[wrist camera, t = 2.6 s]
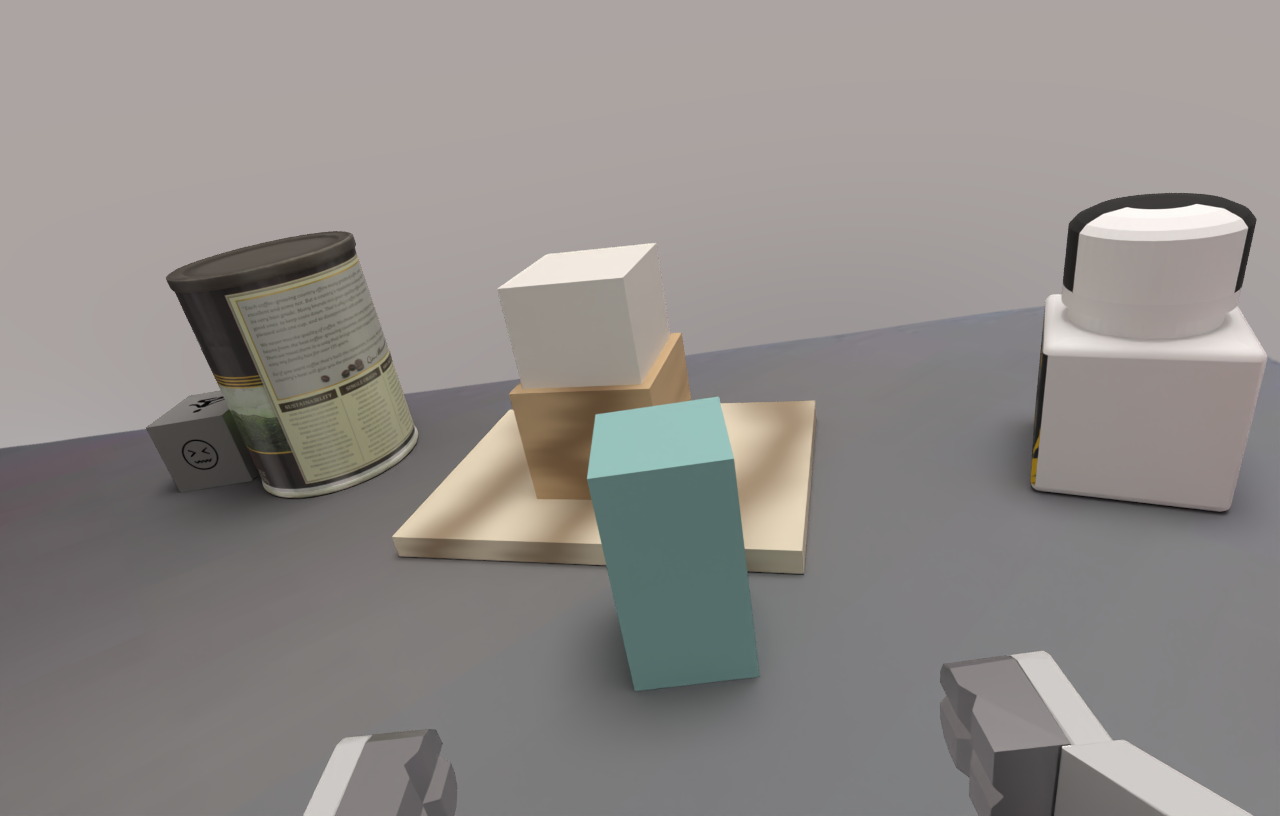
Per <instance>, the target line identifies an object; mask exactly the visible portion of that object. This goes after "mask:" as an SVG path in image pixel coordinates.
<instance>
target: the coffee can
mask: <svg viewBox="0 0 1280 816" xmlns="http://www.w3.org/2000/svg"><path fill="white" fill-rule="evenodd" d="M355 245H356V243H355V240H354V237H353V234H351V233H348V232H341V231H340V232H338V231H333V232H322V233H315V234H307V235H300V236H296V237H289V238H284V239H279V240H275V241H270V242H265V243H260V244H257V245H253V246H248V247H244V248H240V249H236V250H232V251H229V252H226V253H222V254H219V255H215V256H212V257H209V258H205V259H202V260H199V261H196V262H194V263H190V264H188V265H186V266H183V267H181V268H178V269H176V270H175V271H173V272H172V273H170V274H169V275H168V276H167V277H166V280H167V282H168V284H169V286H170V288H171V289H172V290H173V291H174V292H175V293H176V295H177V297H178V300H179V302H180V304H181V306H182V308H183V311H184V313H185V315H186V317H187V319H188V321H189V323H190V325H191V327H192V330H193V332H194V334H195V336H196V339H197V341H198V343H199V345H200V347H201V350H202V352H203V354H204V355H205V358H206V360H207V362H208V364H209V366H210V368H211V371H212V373H213V375H214V377H215V379H216V381H217V383H218V386H219V387H220V390H221V392H222V394H223V396H224V399H225V401H226V403H227V405H228V407H229V409H230V411H231V414H232V416H233V418H234V420H235V422H236V425H237V427H238V429H239V431H240V434H241V436H242V438H243V440H244V442H245V444H246V446H247V448H248V450H249V453H250V455H251V457H252V459H253V461H254V463H255V466H256V468H257V470H258V472H259V474H260V476H261V479H262V484H263V487H264V488H265V490H266V491H267V492H269V493H270V494H273V495H275V496H279V497H283V498H306V497H314V496H320V495H324V494H329V493H333V492H337V491H340V490H343V489H346V488H349V487H352V486H354V485H357V484H359V483H362V482H364V481H367V480H369V479H371V478H373V477H375V476H377V475H379V474H381V473H383V472H384V471H386V470H387V469H389V468H391V467H393V466H394V465H396V464H397V463H398V462H400V461H401V460H402V459H403V458H404V457H405V456H406V455H407V454H408V453H409V452H410V451H411V450H412V449H413V447H414V446H415V444H416V443H417V438H418V431H417V429H416V427H415V426H414V423H413V420H412V418H411V415H410V411H409V408H408V406H407V403H406V400H405V397H404V394H403V391H402V388H401V385H400V382H399V379H398V376H397V373H396V370H395V367H394V364H393V361H392V358H391V354H390V351H389V349H388V346H387V343H386V340H385V337H384V334H383V331H382V328H381V325H380V322H379V319H378V316H377V313H376V310H375V307H374V304H373V301H372V298H371V295H370V292H369V289H368V286H367V283H366V280H365V277H364V274H363V271H362V269H361V265H360V262H359V259H358V256H357V254H356V251H355Z"/></svg>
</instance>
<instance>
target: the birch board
mask: <svg viewBox="0 0 1280 816" xmlns="http://www.w3.org/2000/svg"><path fill="white" fill-rule="evenodd" d="M721 408H722V412H723V416H724V420H725V424H726V428H727V432H728V436H729V440H730V444H731V448H732V452H733V456H734V462H735V471H736V479H737V488H738V496H739V505H740V513H741V522H742V530H743V539H744V547H745V556H746V564H747V571H750V572H773V573H796V574H804V565H805V553H806V541H807V528H808V516H809V503H810V491H811V479H812V466H813V454H814V441H815V429H816V405H815V401H790V402H756V403H723V404H721ZM392 539H393V541H394V544H395V546H396V549H397V552H398V554H399V556H405V557H428V558H451V559H474V560H497V561H520V562H543V563H566V564H589V565H606V561H605V557H604V553H603V548H602V544H601V539H600V535H599V530H598V526H597V522H596V517H595V513H594V508H593V504H592V500H573V499H537V497H536V493H535V489H534V486H533V482H532V478H531V474H530V471H529V467H528V463H527V459H526V456H525V452H524V448H523V444H522V441H521V437H520V433H519V429H518V426H517V422H516V418H515V414H514V410H509V411H508V412H507V413H506V414H505V415H504V416H503V417H502V418H501V420H500V421H499V422H498V423H497V424H496V425H495V426H494V427H493V428H492V429H491V430H490V431H489V432H488V434H487V435H486V436H485V437H484V438H483V439H482V440H481V441H480V442H479V443H478V444H477V445H476V447H475V448H474V449H473V450H472V451H471V452H470V453H469V454H468V455H467V456H466V457H465V458H464V460H463V461H462V462H461V463H460V464H459V465H458V466H457V467H456V468H455V469H454V470H453V471H452V473H451V474H450V475H449V476H448V477H447V478H446V479H445V480H444V481H443V482H442V483H441V484H440V485H439V487H438V488H437V489H436V490H435V491H434V492H433V493H432V494H431V495H430V496H429V497H428V498H427V500H426V501H425V502H424V503H423V504H422V505H421V506H420V507H419V508H418V509H417V510H416V511H415V513H414V514H413V515H412V516H411V517H410V518H409V519H408V520H407V521H406V522H405V523H404V524H403V526H402V527H401V528H400V529H399V530H398V531H397V532H396V533H395V534H394V535H393V536H392Z"/></svg>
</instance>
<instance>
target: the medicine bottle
mask: <svg viewBox="0 0 1280 816" xmlns="http://www.w3.org/2000/svg"><path fill="white" fill-rule="evenodd" d="M1255 224H1256V218H1255V216H1254V215H1253V214H1252V212H1251V211H1250V210H1249V209H1248V208H1246V207H1245V206H1243V205H1241V204H1238V203H1235V202H1233V201H1230V200H1228V199H1225V198H1222V197H1218V196H1212V195H1205V194H1191V193H1164V194H1163V193H1162V194H1145V195H1136V196H1128V197H1122V198H1116V199H1112V200H1108V201H1105V202H1102V203H1099V204H1097V205H1095V206H1093V207H1090V208H1088V209H1086V210H1084V211H1082V212H1080V213H1079V214H1077V216H1076V217H1075V218H1074V219H1073V220H1072V221H1071V222H1070V223H1069V228H1068V238H1067V248H1066V258H1065V267H1064V276H1063V286H1062V294H1054V295H1051V296H1049V297H1048V298H1047V299H1046V302H1045V311H1044V321H1043V332H1042V343H1041V353H1040V364H1039V375H1038V385H1037V396H1036V407H1035V417H1034V434H1033V450H1032V467H1031V485H1032V487H1033V488H1034V489H1036V490H1038V491H1046V492H1054V493H1063V494H1072V495H1080V496H1089V497H1098V498H1106V499H1115V500H1123V501H1132V502H1141V503H1149V504H1158V505H1167V506H1175V507H1184V508H1192V509H1201V510H1210V511H1218V512H1222V511H1226V510H1228V509H1229V508H1230V507H1231V504H1232V500H1233V496H1234V492H1235V488H1236V484H1237V480H1238V476H1239V472H1240V468H1241V464H1242V460H1243V456H1244V451H1245V447H1246V443H1247V439H1248V435H1249V431H1250V427H1251V423H1252V419H1253V415H1254V411H1255V407H1256V403H1257V398H1258V394H1259V390H1260V386H1261V382H1262V378H1263V374H1264V370H1265V366H1266V362H1267V354H1266V353H1265V351H1264V349H1263V348H1262V346H1261V344H1260V343H1259V341H1258V339H1257V338H1256V336H1255V334H1254V333H1253V331H1252V329H1251V328H1250V326H1249V324H1248V322H1247V321H1246V319H1245V317H1244V316H1243V314H1242V312H1241V311H1240V309H1239V307H1238V306H1237V305H1238V302H1239V297H1240V293H1241V288H1242V283H1243V279H1244V275H1245V270H1246V265H1247V261H1248V256H1249V252H1250V247H1251V242H1252V237H1253V233H1254V228H1255Z"/></svg>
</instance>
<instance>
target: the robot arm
mask: <svg viewBox="0 0 1280 816" xmlns="http://www.w3.org/2000/svg"><path fill="white" fill-rule="evenodd" d="M940 683H941V685H942V687H943V689H944V691H945V693H946V695H947V696H946V697H945V698H944V699H943V700H942V702H941V703H940V719H941V724H942V729H943V734H944V738H945V741H946V744H947V747H948V750H949V753H950V755H951V757H952V759H953V762H954V764H955V766H956V768H957V769H958V770H960V771H961V772H962V773H964V774H965V775H967V776H968V777H969V778H970V781H969V796H970V799H971V801H972V803H973V805H974V807H975V809H976V811H977V813H978V816H1253V815H1251V814H1250V813H1248V812H1246V811H1244V810H1243V809H1241V808H1239V807H1238V806H1236V805H1234V804H1233V803H1231V802H1229V801H1227V800H1226V799H1224V798H1222V797H1221V796H1219V795H1217V794H1215V793H1214V792H1212V791H1210V790H1209V789H1207V788H1205V787H1204V786H1202V785H1200V784H1198V783H1197V782H1195V781H1193V780H1192V779H1190V778H1188V777H1186V776H1185V775H1183V774H1181V773H1180V772H1178V771H1176V770H1175V769H1173V768H1171V767H1169V766H1168V765H1166V764H1164V763H1163V762H1161V761H1159V760H1157V759H1156V758H1154V757H1152V756H1151V755H1149V754H1147V753H1146V752H1144V751H1142V750H1140V749H1139V748H1137V747H1135V746H1134V745H1132V744H1130V743H1128V742H1127V741H1125V740H1112V739H1111V737H1110V736H1109V735H1108V733H1107V732H1106V731H1105V729H1104V728H1103V726H1102V725H1101V724H1100V722H1099V721H1098V720H1097V718H1096V717H1095V716H1094V714H1093V713H1092V711H1091V710H1090V709H1089V707H1088V706H1087V705H1086V703H1085V702H1084V701H1083V699H1082V698H1081V696H1080V695H1079V694H1078V692H1077V691H1076V690H1075V688H1074V687H1073V685H1072V684H1071V683H1070V681H1069V680H1068V679H1067V677H1066V676H1065V675H1064V673H1063V672H1062V670H1061V669H1060V668H1059V666H1058V665H1057V664H1056V662H1055V661H1054V660H1053V658H1052V657H1051V655H1049V654H1048V653H1046V652H1045V651H1038V652H1031V653H1023V654H1015V655H1010V656H1006V655H1005V656H998V657H990V658H983V659H976V660H969V661H961V662H954V663H947V664H943V665H942V668H941V671H940ZM442 744H443V743H442V741H441V739H440V737H439V735H438V733H437V731H436V730H435V729H425V730H415V731H405V732H394V733H384V734H374V735H368V736H358V737H348V738H344V739H343V740H342V741H341V742H340V743H339V744H338V745H337V746H336V747H335V749H334V751H333V753H332V755H331V757H330V759H329V761H328V764H327V766H326V768H325V770H324V772H323V774H322V776H321V778H320V780H319V783H318V785H317V787H316V789H315V791H314V793H313V795H312V797H311V799H310V802H309V804H308V806H307V808H306V810H305V812H304V814H303V816H454V815H455V810H456V803H457V783H456V777H455V772H454V770H453V767H452V765H451V762H449V761H448V760H446V759H445V758H443V757H442V756H440V755H439V754H440V751H441V747H442Z"/></svg>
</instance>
